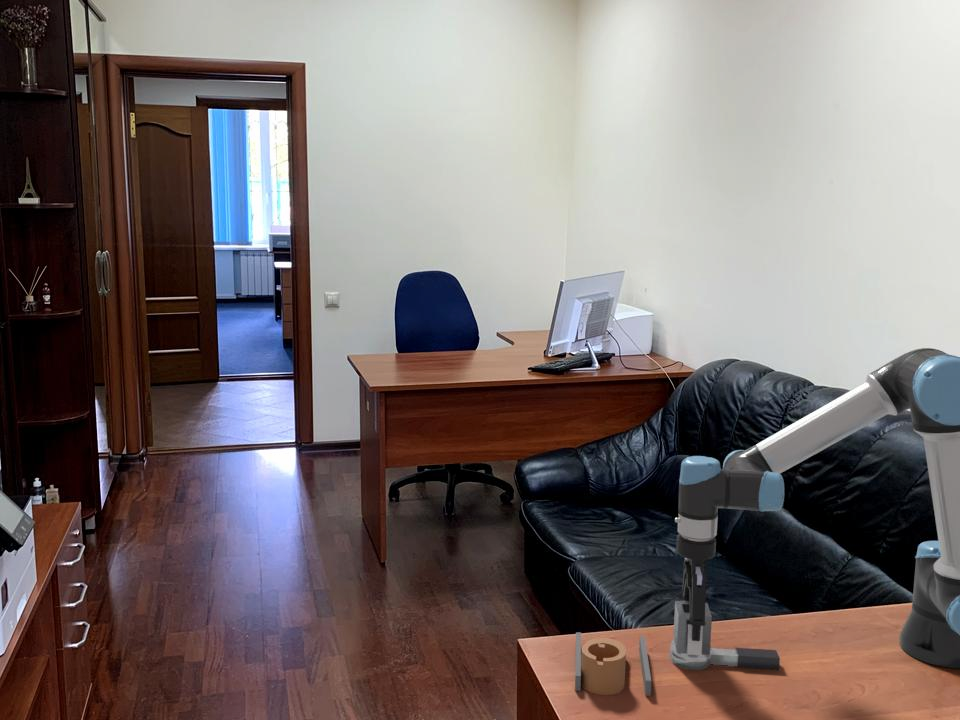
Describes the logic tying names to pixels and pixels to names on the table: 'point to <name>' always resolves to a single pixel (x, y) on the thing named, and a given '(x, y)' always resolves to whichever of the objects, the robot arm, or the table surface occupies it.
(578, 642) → the bar
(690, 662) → the ratchet
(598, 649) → the tan slotted hollow cylinder
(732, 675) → the table surface
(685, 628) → the socket
